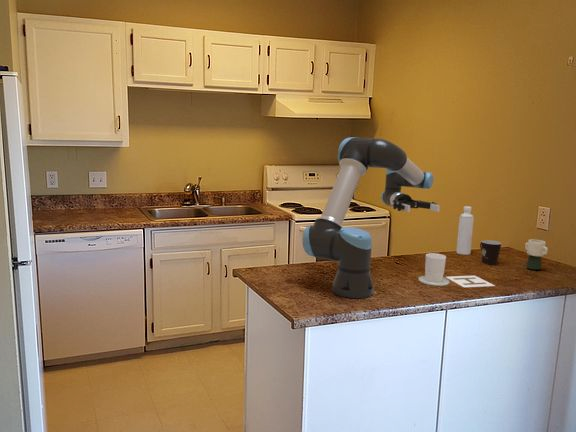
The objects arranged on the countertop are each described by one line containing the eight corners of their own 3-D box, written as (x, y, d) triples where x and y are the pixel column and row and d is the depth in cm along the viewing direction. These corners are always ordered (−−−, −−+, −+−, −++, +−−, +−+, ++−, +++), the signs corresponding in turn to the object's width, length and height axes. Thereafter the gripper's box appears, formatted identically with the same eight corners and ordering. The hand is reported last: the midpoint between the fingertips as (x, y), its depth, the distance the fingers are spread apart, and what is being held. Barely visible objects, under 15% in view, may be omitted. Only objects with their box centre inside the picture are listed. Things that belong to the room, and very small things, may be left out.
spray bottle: (455, 250, 261) (459, 202, 256) (468, 251, 260) (473, 203, 256) (457, 254, 254) (462, 204, 250) (471, 255, 253) (476, 205, 249)
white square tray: (464, 287, 201) (464, 287, 201) (445, 277, 214) (445, 276, 214) (495, 286, 204) (495, 285, 204) (474, 275, 218) (474, 275, 217)
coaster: (427, 286, 200) (427, 285, 200) (413, 277, 212) (413, 276, 212) (455, 285, 203) (455, 283, 203) (439, 276, 215) (439, 275, 215)
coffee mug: (500, 266, 234) (503, 245, 232) (481, 264, 236) (483, 243, 234) (496, 260, 245) (498, 239, 244) (477, 258, 247) (479, 238, 245)
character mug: (549, 271, 228) (553, 243, 226) (539, 273, 225) (543, 244, 223) (527, 265, 238) (531, 237, 236) (517, 266, 234) (521, 239, 232)
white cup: (420, 279, 207) (422, 255, 205) (429, 275, 213) (431, 252, 211) (438, 284, 202) (440, 259, 200) (447, 280, 208) (449, 256, 206)
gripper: (425, 209, 239) (449, 217, 218) (375, 209, 233) (395, 217, 212) (426, 193, 237) (451, 200, 217) (376, 193, 231) (397, 200, 211)
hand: (424, 209), depth 215 cm, fingers open, 13 cm apart
